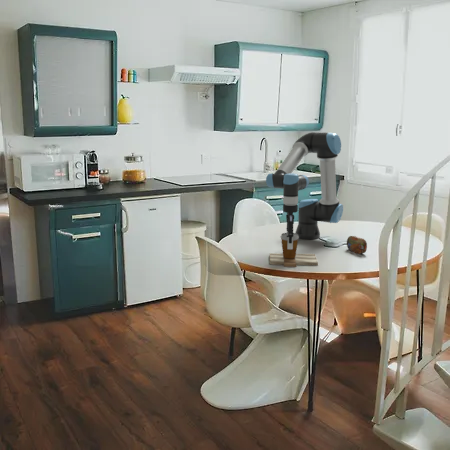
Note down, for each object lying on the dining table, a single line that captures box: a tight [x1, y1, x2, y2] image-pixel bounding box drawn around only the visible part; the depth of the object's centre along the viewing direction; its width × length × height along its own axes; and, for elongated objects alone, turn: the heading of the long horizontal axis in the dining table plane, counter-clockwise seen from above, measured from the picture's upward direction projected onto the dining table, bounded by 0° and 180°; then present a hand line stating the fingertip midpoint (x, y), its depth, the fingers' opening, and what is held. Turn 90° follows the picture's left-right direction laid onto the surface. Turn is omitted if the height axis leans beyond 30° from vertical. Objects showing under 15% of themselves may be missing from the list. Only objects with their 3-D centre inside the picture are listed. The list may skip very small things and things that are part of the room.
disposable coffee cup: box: [280, 232, 300, 259], centre depth 282 cm, size 10×10×12 cm
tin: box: [346, 235, 368, 255], centre depth 298 cm, size 15×3×8 cm, turn 24°
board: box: [269, 252, 319, 268], centre depth 283 cm, size 22×24×2 cm
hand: (289, 246), depth 282 cm, fingers closed on disposable coffee cup, 9 cm apart
